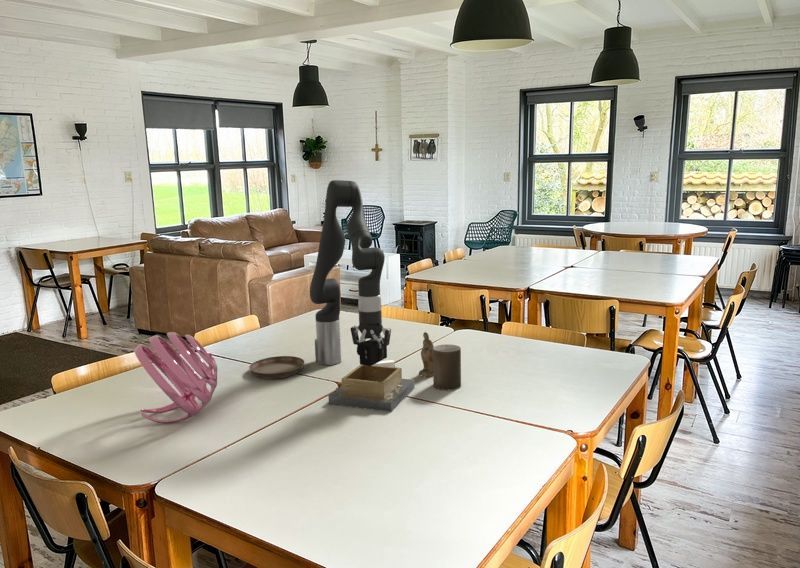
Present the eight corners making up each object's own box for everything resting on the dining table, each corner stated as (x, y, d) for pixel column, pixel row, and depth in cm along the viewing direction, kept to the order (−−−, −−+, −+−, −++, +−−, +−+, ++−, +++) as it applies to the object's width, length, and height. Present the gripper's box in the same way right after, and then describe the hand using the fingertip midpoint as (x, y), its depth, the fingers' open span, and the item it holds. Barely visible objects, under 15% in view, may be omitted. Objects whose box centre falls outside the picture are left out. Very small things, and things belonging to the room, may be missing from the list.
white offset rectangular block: (401, 372, 237) (401, 358, 236) (390, 382, 226) (390, 367, 225) (365, 368, 242) (364, 354, 241) (352, 378, 232) (352, 363, 231)
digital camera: (373, 355, 216) (373, 335, 215) (387, 357, 213) (386, 337, 212) (356, 364, 207) (355, 343, 206) (370, 366, 205) (369, 345, 203)
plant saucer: (239, 379, 233) (239, 371, 232) (264, 362, 253) (263, 354, 252) (292, 382, 228) (291, 374, 228) (312, 364, 248) (312, 356, 247)
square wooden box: (328, 404, 206) (327, 380, 205) (356, 381, 227) (355, 360, 225) (391, 411, 199) (390, 387, 197) (414, 388, 219) (414, 366, 217)
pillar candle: (459, 391, 215) (459, 348, 212) (431, 389, 217) (430, 347, 214) (462, 381, 225) (462, 340, 222) (435, 380, 226) (435, 339, 224)
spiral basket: (94, 376, 179) (172, 314, 186) (112, 369, 206) (180, 315, 213) (160, 449, 183) (235, 385, 189) (169, 433, 210) (235, 378, 216)
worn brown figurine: (427, 384, 230) (419, 339, 224) (417, 380, 234) (409, 336, 228) (449, 370, 237) (442, 326, 231) (439, 366, 241) (432, 323, 235)
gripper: (345, 309, 206) (347, 359, 209) (386, 312, 201) (387, 363, 204) (354, 304, 213) (356, 352, 216) (394, 307, 208) (395, 356, 211)
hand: (371, 357), depth 210 cm, fingers closed on digital camera, 5 cm apart
